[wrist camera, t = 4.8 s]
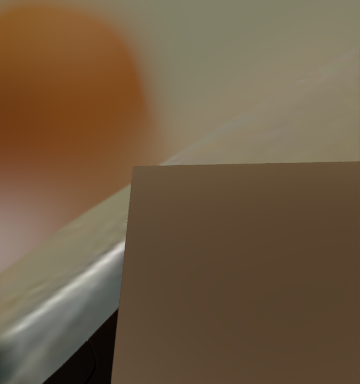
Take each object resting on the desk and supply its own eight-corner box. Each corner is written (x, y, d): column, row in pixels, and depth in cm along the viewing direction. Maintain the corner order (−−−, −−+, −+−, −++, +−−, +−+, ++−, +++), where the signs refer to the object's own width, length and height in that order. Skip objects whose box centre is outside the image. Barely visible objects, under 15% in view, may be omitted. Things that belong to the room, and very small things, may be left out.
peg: (261, 376, 12) (829, 785, 1) (173, 376, 13) (72, 757, 2) (249, 282, 15) (438, 159, 4) (174, 283, 15) (133, 166, 4)
